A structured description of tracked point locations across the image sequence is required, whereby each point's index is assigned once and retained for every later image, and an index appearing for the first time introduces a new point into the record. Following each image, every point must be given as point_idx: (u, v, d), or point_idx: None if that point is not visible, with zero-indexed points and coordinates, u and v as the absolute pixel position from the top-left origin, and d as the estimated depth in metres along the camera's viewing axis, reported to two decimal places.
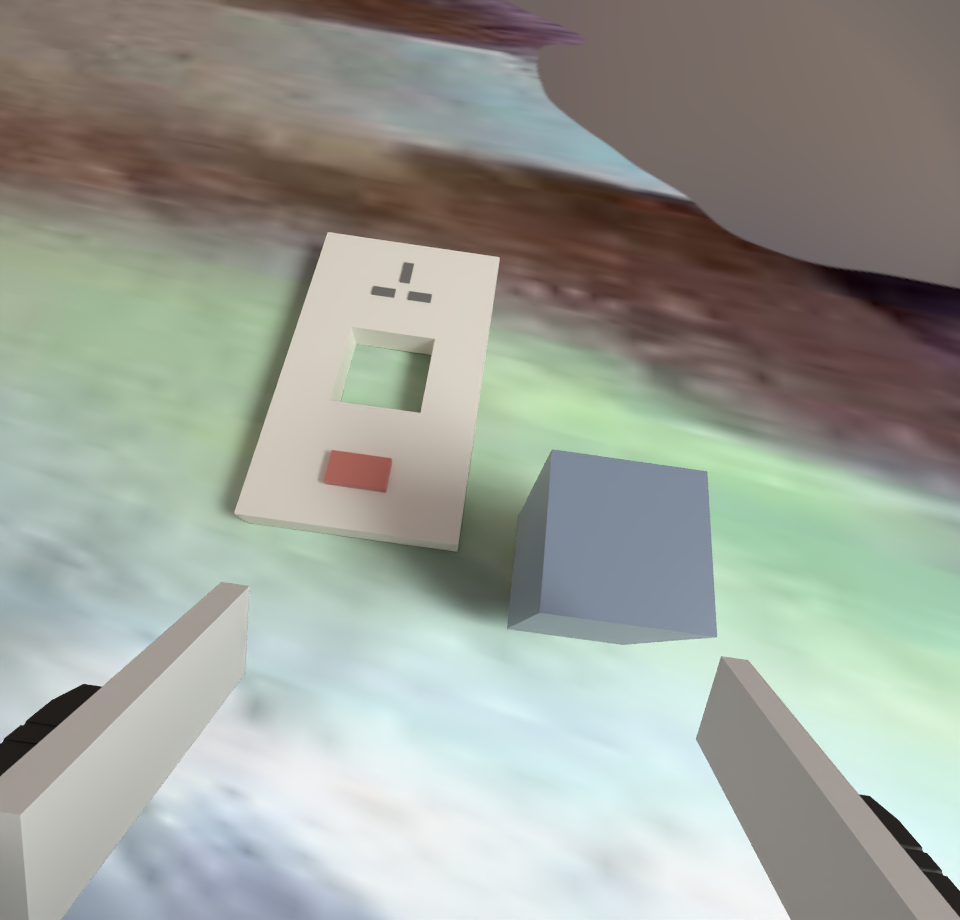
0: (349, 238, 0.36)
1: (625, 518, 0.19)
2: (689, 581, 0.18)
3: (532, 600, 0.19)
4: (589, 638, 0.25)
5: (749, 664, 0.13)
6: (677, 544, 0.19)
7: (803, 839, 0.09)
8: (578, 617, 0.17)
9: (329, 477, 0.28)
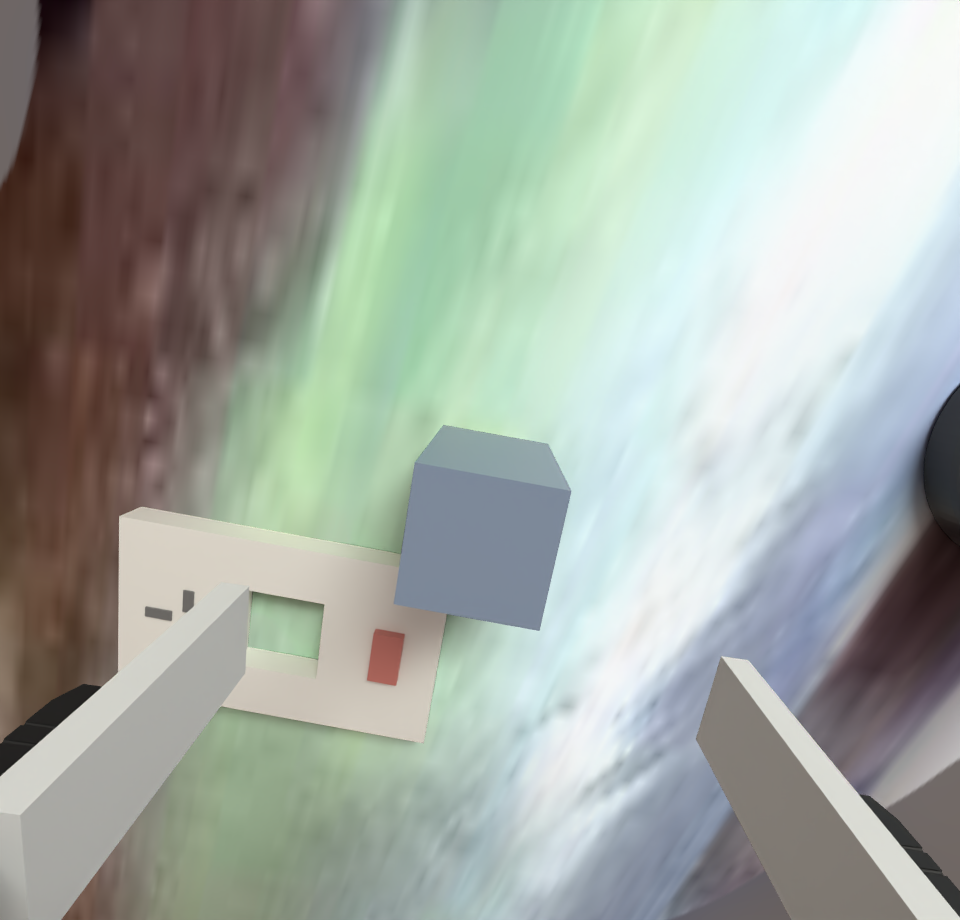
0: (123, 667, 0.34)
1: (461, 549, 0.20)
2: (522, 504, 0.20)
3: None
4: None
5: (749, 664, 0.13)
6: (487, 507, 0.20)
7: (803, 839, 0.09)
8: (545, 600, 0.21)
9: (392, 681, 0.33)
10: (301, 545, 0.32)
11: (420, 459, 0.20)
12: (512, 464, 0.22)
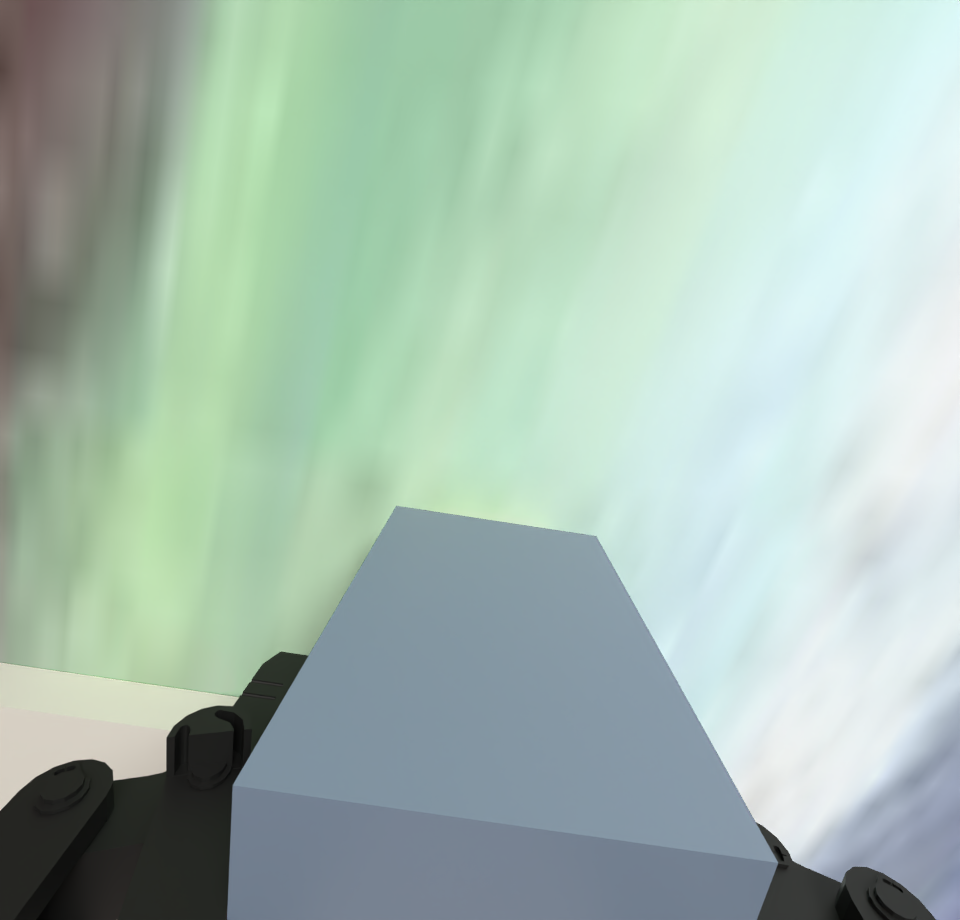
0: None
1: None
2: (607, 901, 0.06)
3: None
4: None
5: None
6: (489, 910, 0.06)
7: None
8: None
9: None
10: (154, 715, 0.18)
11: (268, 742, 0.06)
12: (551, 676, 0.08)
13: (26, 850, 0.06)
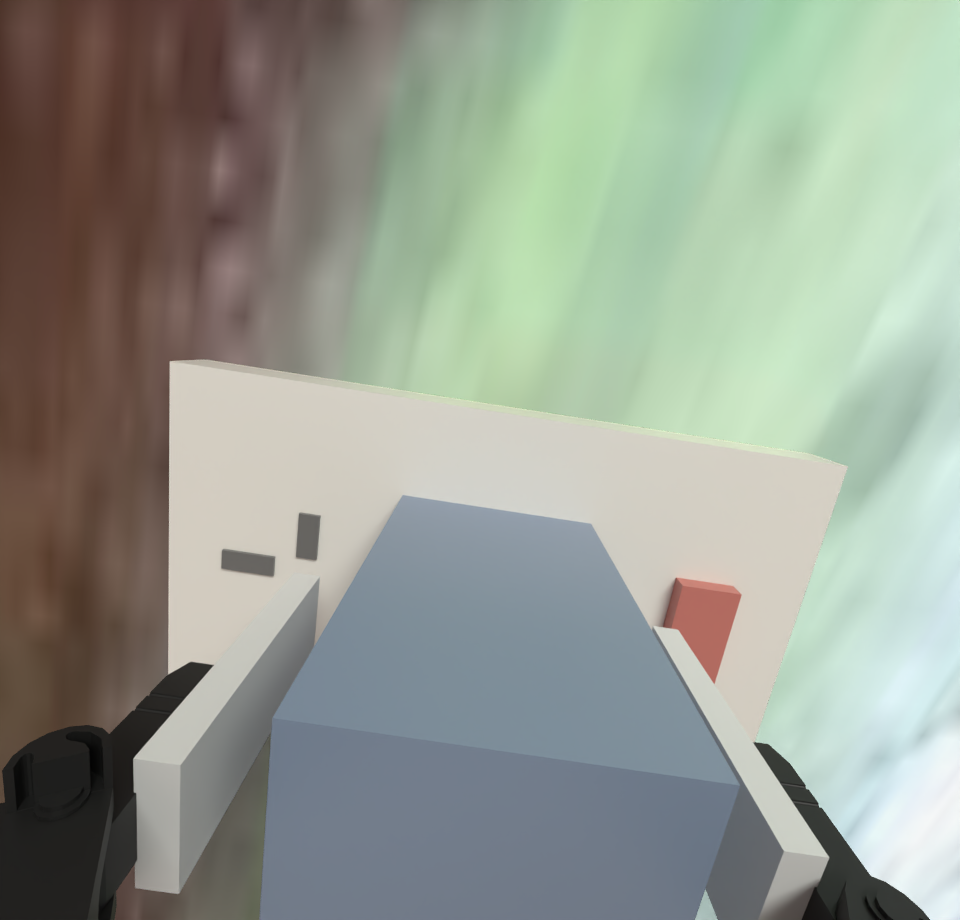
0: None
1: None
2: (594, 820, 0.07)
3: None
4: None
5: (677, 632, 0.14)
6: (492, 829, 0.07)
7: None
8: None
9: None
10: (534, 415, 0.16)
11: (299, 687, 0.07)
12: (547, 640, 0.09)
13: None
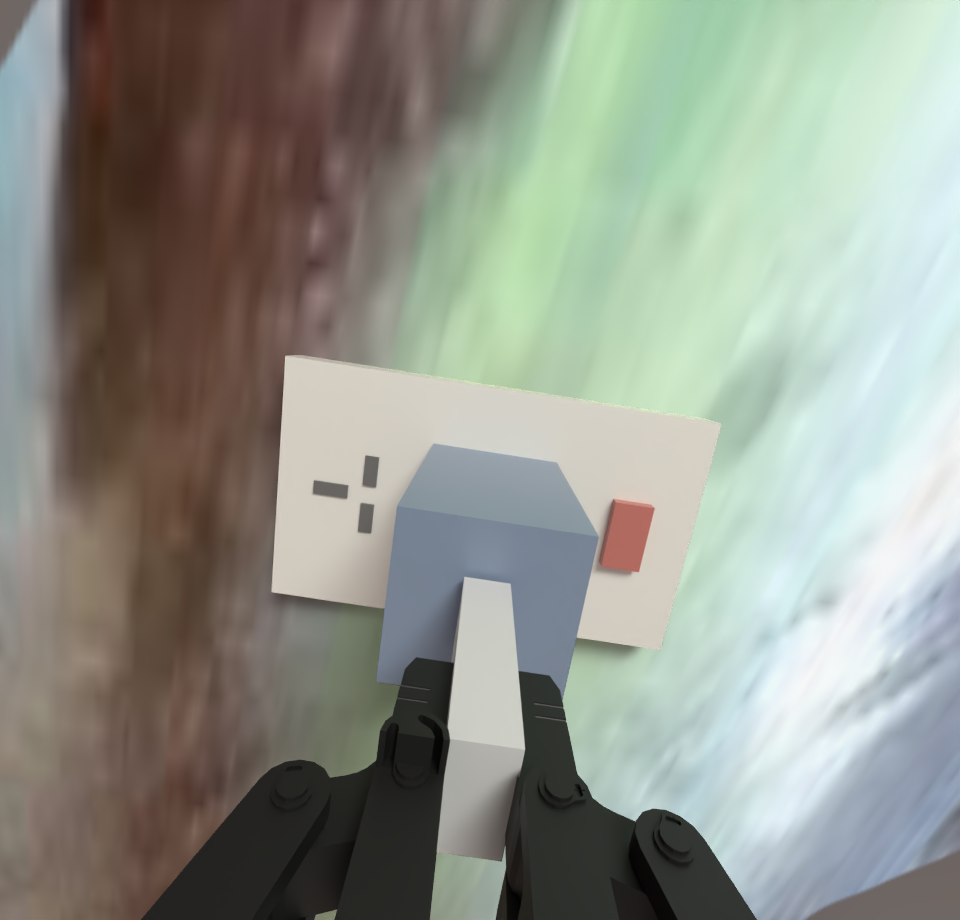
0: (279, 564, 0.27)
1: None
2: (536, 555, 0.15)
3: None
4: None
5: (508, 586, 0.15)
6: (491, 560, 0.15)
7: None
8: (567, 672, 0.16)
9: (635, 567, 0.26)
10: (519, 391, 0.25)
11: (404, 500, 0.16)
12: (520, 498, 0.18)
13: (264, 843, 0.07)
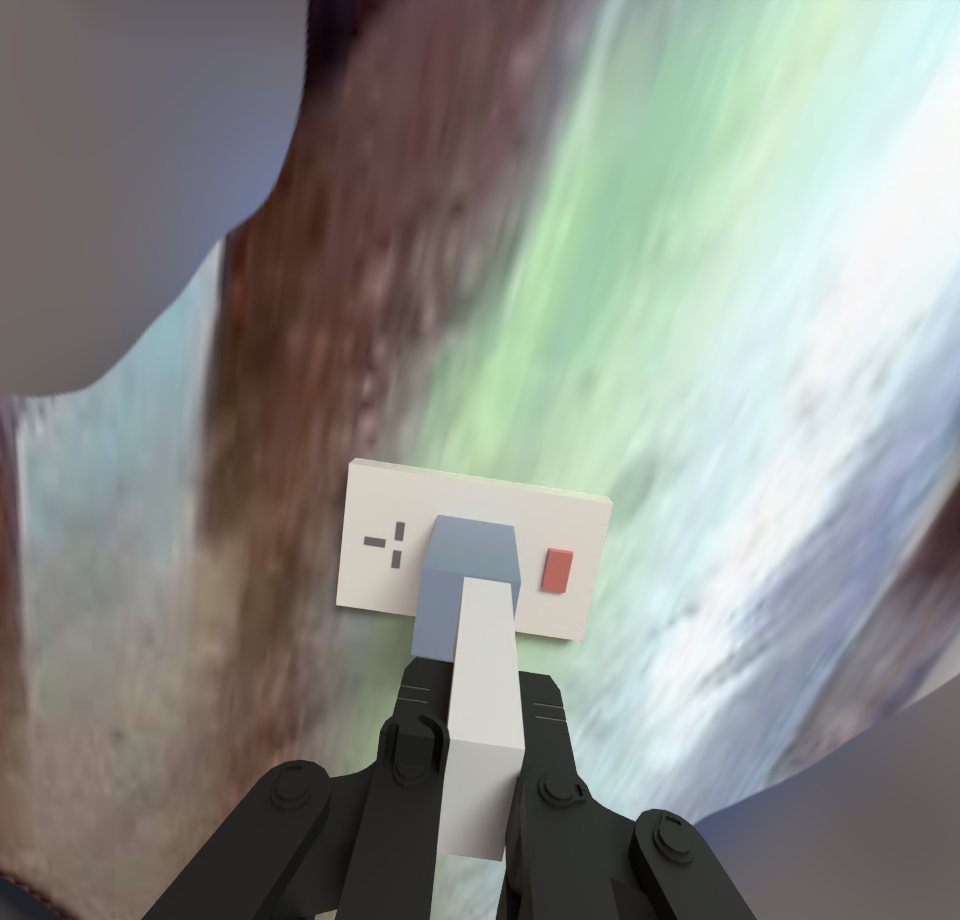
0: (341, 587, 0.42)
1: (453, 619, 0.32)
2: None
3: None
4: None
5: (508, 586, 0.15)
6: None
7: None
8: None
9: (562, 589, 0.41)
10: (491, 483, 0.41)
11: (425, 563, 0.32)
12: (485, 558, 0.34)
13: (264, 842, 0.07)
